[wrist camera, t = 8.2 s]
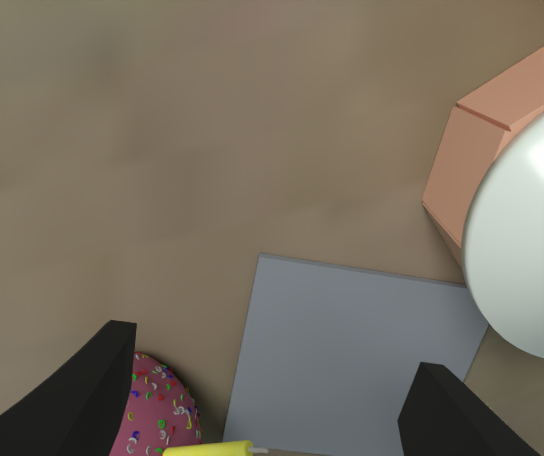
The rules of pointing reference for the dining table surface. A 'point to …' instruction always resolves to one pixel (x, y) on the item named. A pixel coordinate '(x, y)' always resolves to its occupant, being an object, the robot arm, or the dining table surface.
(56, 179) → the dining table surface
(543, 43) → the dining table surface
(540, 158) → the lid
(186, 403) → the cupcake
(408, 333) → the mat
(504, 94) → the bowl
